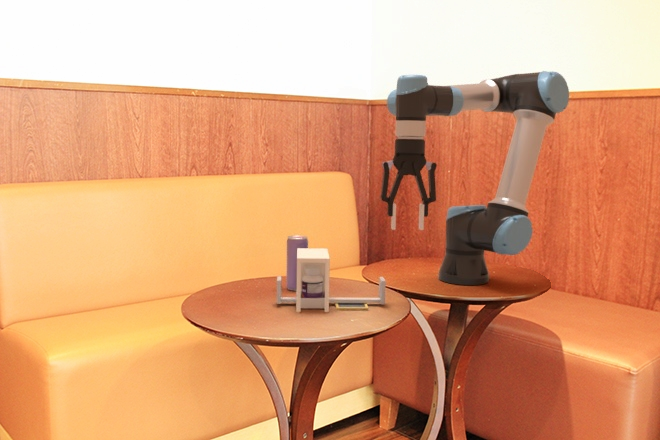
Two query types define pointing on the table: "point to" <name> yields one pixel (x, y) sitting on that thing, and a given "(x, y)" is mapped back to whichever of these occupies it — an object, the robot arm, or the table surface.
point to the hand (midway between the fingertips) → (407, 229)
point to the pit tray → (351, 306)
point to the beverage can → (294, 259)
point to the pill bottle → (312, 283)
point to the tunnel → (317, 259)
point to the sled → (321, 301)
